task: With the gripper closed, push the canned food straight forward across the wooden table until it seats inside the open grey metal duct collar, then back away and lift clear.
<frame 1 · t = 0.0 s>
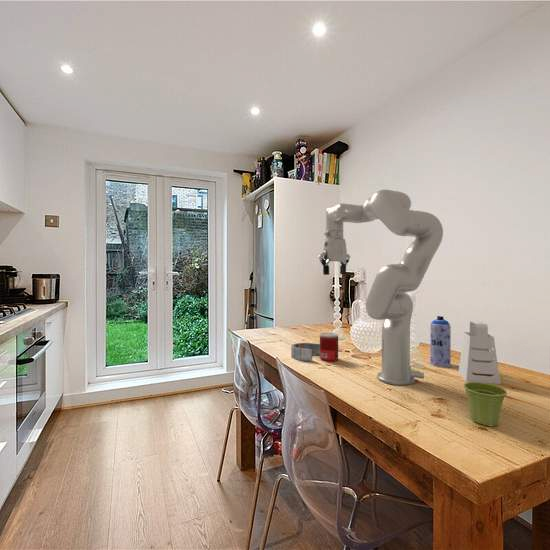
hand: (334, 274, 146), 37 cm above the table, tool pointing down, fingers open, 9 cm apart
canned food: (329, 359, 146), on the table
grater: (478, 378, 120), on the table
duct collar: (305, 356, 150), on the table
aerosol can: (440, 365, 137), on the table
plant pot: (484, 422, 86), on the table
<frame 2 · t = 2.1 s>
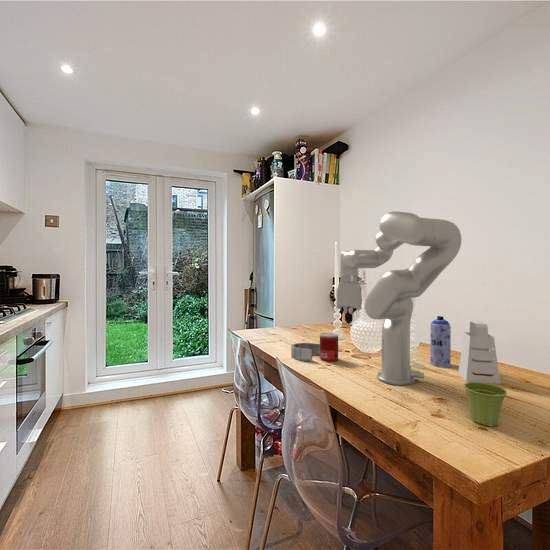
hand: (348, 322, 142), 17 cm above the table, tool pointing down, fingers closed
nothing on the table moved.
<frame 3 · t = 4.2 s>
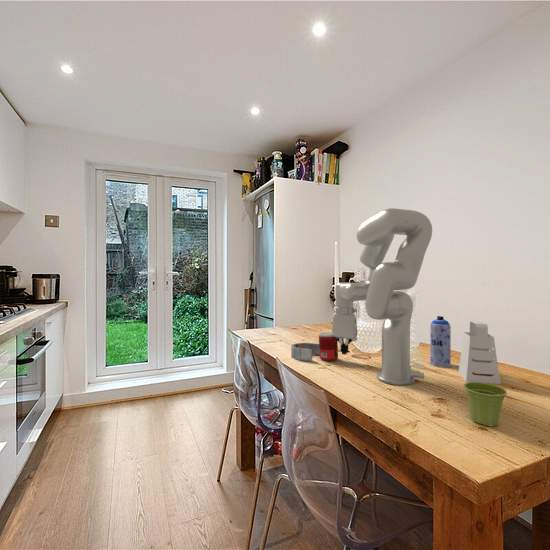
hand: (344, 353, 143), 3 cm above the table, tool pointing down, fingers closed
canned food: (329, 359, 146), on the table, touching gripper
everything else where it was.
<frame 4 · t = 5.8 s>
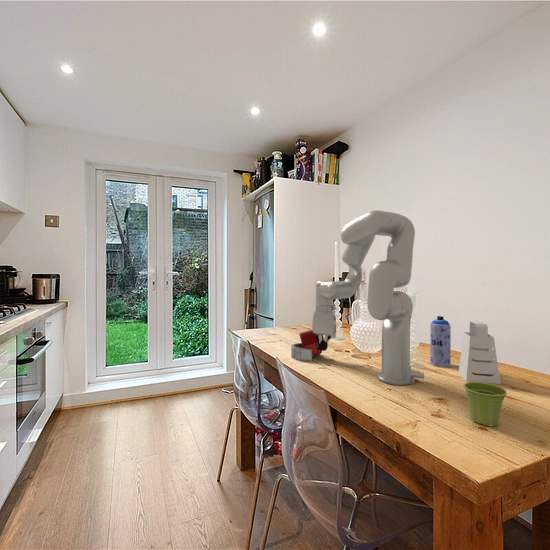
hand: (323, 350, 147), 4 cm above the table, tool pointing down, fingers closed
canned food: (314, 355, 148), point 1 cm above the table, touching gripper
everything else where it was.
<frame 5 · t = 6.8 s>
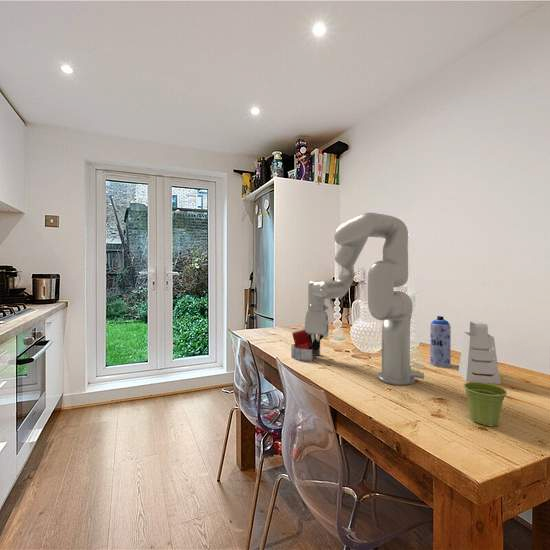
hand: (316, 349, 148), 4 cm above the table, tool pointing down, fingers closed
canned food: (306, 354, 150), point 1 cm above the table, touching duct collar, gripper
everything else where it was.
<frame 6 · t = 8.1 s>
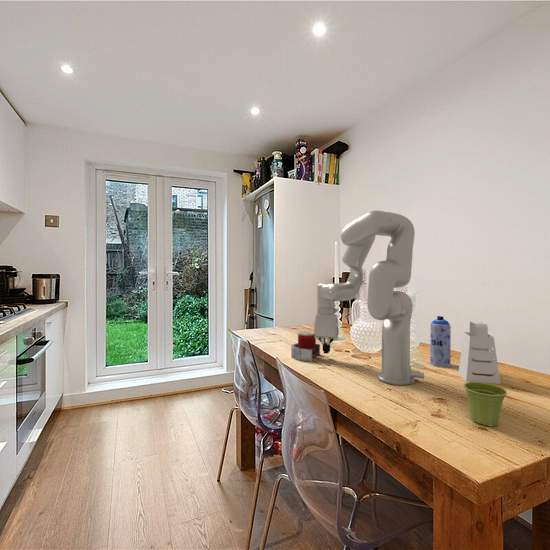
hand: (326, 352, 146), 3 cm above the table, tool pointing down, fingers closed
canned food: (306, 357, 150), resting in duct collar
everything else where it was.
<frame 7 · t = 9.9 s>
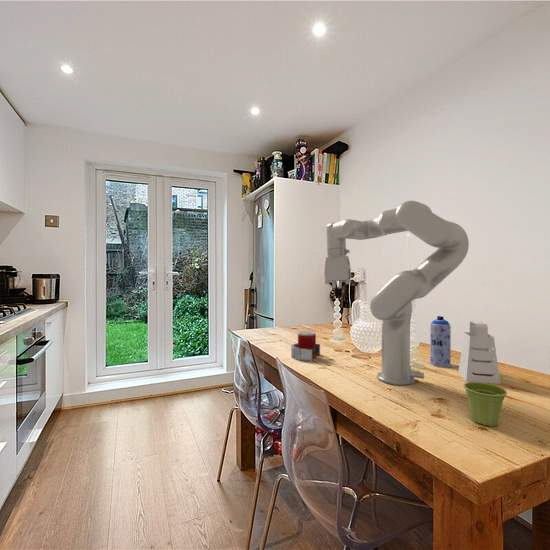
hand: (338, 298, 135), 28 cm above the table, tool pointing down, fingers closed
nothing on the table moved.
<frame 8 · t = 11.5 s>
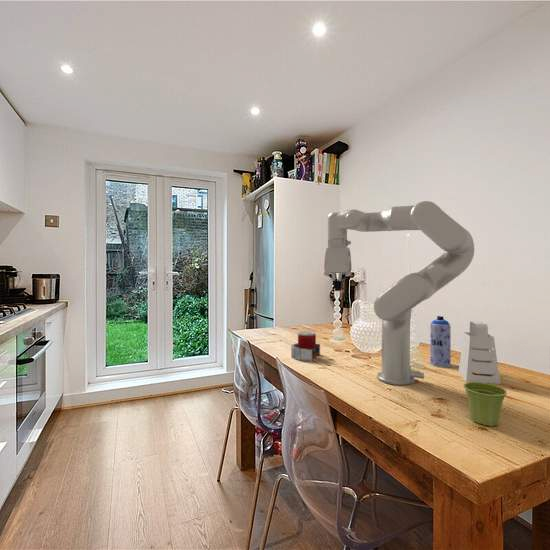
hand: (337, 290, 131), 31 cm above the table, tool pointing down, fingers closed
nothing on the table moved.
at the end: canned food 0.1 cm off-centre on the duct collar, point 0.0 cm above the duct collar's base; canned food tilted 0°; canned food moved 10.3 cm from its start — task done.
